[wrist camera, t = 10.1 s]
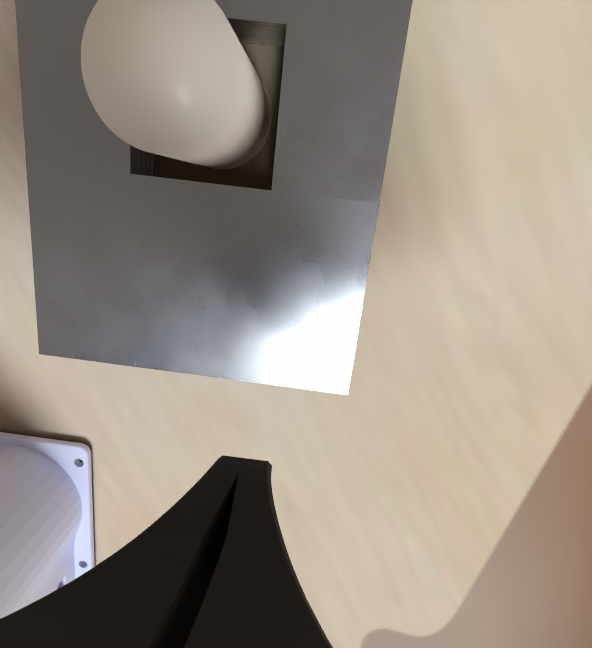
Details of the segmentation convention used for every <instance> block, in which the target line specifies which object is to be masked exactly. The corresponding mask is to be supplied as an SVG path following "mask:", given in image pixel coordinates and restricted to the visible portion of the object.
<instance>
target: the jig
mask: <svg viewBox="0 0 592 648" xmlns="http://www.w3.org/2000/svg"><path fill="white" fill-rule="evenodd" d="M97 1H98V0H15V3H16V18H17V33H18V47H19V62H20V77H21V92H22V106H23V121H24V136H25V151H26V166H27V180H28V195H29V210H30V225H31V240H32V254H33V269H34V284H35V299H36V314H37V328H38V343H39V354H43V355H50V356H58V357H66V358H73V359H81V360H88V361H96V362H103V363H111V364H118V365H126V366H134V367H141V368H149V369H156V370H164V371H171V372H179V373H187V374H194V375H202V376H209V377H217V378H224V379H232V380H239V381H247V382H255V383H262V384H270V385H277V386H285V387H292V388H300V389H307V390H315V391H323V392H330V393H338V394H345V395H348V390H349V384H350V378H351V372H352V365H353V359H354V353H355V347H356V341H357V335H358V329H359V323H360V317H361V311H362V305H363V298H364V292H365V286H366V280H367V274H368V268H369V262H370V256H371V250H372V244H373V238H374V231H375V225H376V219H377V213H378V207H379V201H380V195H381V189H382V183H383V177H384V171H385V164H386V158H387V152H388V146H389V140H390V134H391V128H392V122H393V116H394V110H395V104H396V97H397V91H398V85H399V79H400V73H401V67H402V61H403V55H404V49H405V43H406V37H407V30H408V24H409V18H410V12H411V6H412V0H214V1H215V2H216V3H217V4H218V6H219V7H220V8H221V10H222V11H223V13H224V15H225V16H226V18H227V20H228V22H229V23H230V25H231V27H232V29H233V31H234V32H235V34H236V36H237V38H238V40H239V42H243V43H252V44H261V45H270V46H280V47H285V48H284V59H283V70H282V81H281V92H280V103H279V113H278V124H277V135H276V146H275V157H274V168H273V179H272V189H271V190H264V189H255V188H247V187H239V186H230V185H222V184H213V183H205V182H196V181H188V180H180V179H171V178H163V177H155V154H154V153H150V152H146V151H143V150H140V149H138V148H135V147H133V146H131V145H130V144H128V143H126V142H125V141H123V140H122V139H120V138H119V137H118V136H117V135H115V134H114V133H113V132H112V131H111V130H110V129H109V128H108V127H107V126H106V124H105V123H104V122H103V121H102V120H101V118H100V117H99V115H98V114H97V112H96V111H95V109H94V107H93V105H92V103H91V101H90V99H89V96H88V93H87V91H86V88H85V84H84V80H83V76H82V69H81V42H82V37H83V32H84V28H85V25H86V22H87V19H88V17H89V15H90V13H91V11H92V9H93V7H94V6H95V4H96V3H97Z"/></svg>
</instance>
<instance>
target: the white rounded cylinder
mask: <svg viewBox="0 0 592 648" xmlns="http://www.w3.org/2000/svg"><path fill="white" fill-rule="evenodd" d="M81 69H82V76H83V80H84V84H85V88H86V91H87V93H88V96H89V99H90V101H91V103H92V105H93V107H94V109H95V111H96V112H97V114H98V115H99V117H100V118H101V120H102V121H103V122H104V123H105V124H106V126H107V127H108V128H109V129H110V130H111V131H112V132H113V133H114V134H115V135H117V136H118V137H119V138H120V139H122V140H123V141H125V142H126V143H128V144H130V145H131V146H133V147H135V148H138V149H140V150H143V151H146V152H150V153H154V154H158V155H162V156H166V157H170V158H174V159H178V160H182V161H186V162H190V163H194V164H198V165H202V166H206V167H210V168H214V169H231V168H235V167H238V166H241V165H243V164H245V163H246V162H248V161H249V160H251V159H252V158H253V157H254V156H255V155H256V154H257V153H258V152H259V151H260V149H261V148H262V146H263V145H264V143H265V141H266V139H267V136H268V133H269V130H270V125H271V106H270V101H269V97H268V94H267V91H266V89H265V87H264V85H263V83H262V81H261V80H260V78H259V76H258V74H257V72H256V70H255V69H254V67H253V65H252V63H251V61H250V60H249V58H248V56H247V54H246V52H245V51H244V49H243V47H242V45H241V43H240V42H239V40H238V38H237V36H236V34H235V32H234V31H233V29H232V27H231V25H230V23H229V22H228V20H227V18H226V16H225V15H224V13H223V11H222V10H221V8H220V7H219V6H218V4H217V3H216V2H215V1H214V0H98V1H97V3H96V4H95V6H94V7H93V9H92V11H91V13H90V15H89V17H88V19H87V22H86V25H85V28H84V32H83V37H82V42H81Z"/></svg>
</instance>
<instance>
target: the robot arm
mask: <svg viewBox="0 0 592 648" xmlns="http://www.w3.org/2000/svg"><path fill="white" fill-rule="evenodd" d="M79 459H81V460H82V461H83V463H82V462H80V461H79ZM271 470H272V465H271V464H270V463H269V462H268V461H262V460H254V459H246V458H238V457H230V456H221V457H220V458H219V459H218V460H217V461H216V462H215V463H214V464H213V465H212V467H211V468H210V469H209V470H208V471H207V472H206V473H205V474H204V475H203V477H202V478H201V479H200V480H199V481H198V482H197V483H196V484H195V485H194V486H193V487H192V488H191V489H190V490H189V491H188V492H187V493H186V494H185V495H184V496H183V497H182V498H181V499H180V500H179V501H178V502H177V503H176V504H175V505H174V506H172V507H171V508H170V509H169V510H168V511H167V512H166V513H164V514H163V515H162V516H161V517H160V518H159V519H158V520H156V521H155V522H154V523H153V524H152V525H151V526H150V527H148V528H147V529H146V530H145V531H143V532H142V533H141V534H140V535H138V536H137V537H136V538H135V539H133V540H132V541H131V542H129V543H128V544H127V545H125V546H124V547H123V548H121V549H120V550H118V551H117V552H116V553H114V554H113V555H111V556H110V557H108V558H107V559H105V560H104V561H102V562H101V563H99V564H98V565H96V566H95V564H94V533H93V502H92V470H91V451H90V448H89V447H88V446H87V445H85V444H82V443H76V442H69V441H61V440H54V439H47V438H40V437H33V436H25V435H18V434H11V433H4V432H0V648H333V647H332V646H331V644H330V642H329V641H328V639H327V637H326V635H325V633H324V631H323V630H322V628H321V626H320V624H319V622H318V620H317V618H316V616H315V614H314V612H313V611H312V609H311V607H310V605H309V603H308V601H307V599H306V597H305V594H304V592H303V590H302V588H301V585H300V583H299V581H298V579H297V576H296V574H295V571H294V569H293V566H292V564H291V561H290V558H289V556H288V553H287V550H286V547H285V544H284V540H283V537H282V534H281V530H280V527H279V523H278V519H277V515H276V510H275V506H274V501H273V495H272V487H271ZM84 561H85V562H84Z"/></svg>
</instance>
